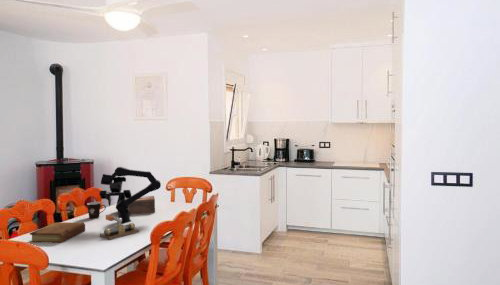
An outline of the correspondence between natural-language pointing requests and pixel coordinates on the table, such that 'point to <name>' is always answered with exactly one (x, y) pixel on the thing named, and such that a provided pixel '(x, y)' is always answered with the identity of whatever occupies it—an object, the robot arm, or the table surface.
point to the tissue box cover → (142, 205)
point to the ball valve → (119, 231)
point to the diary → (57, 232)
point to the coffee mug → (94, 209)
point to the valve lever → (111, 218)
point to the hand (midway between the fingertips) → (113, 205)
